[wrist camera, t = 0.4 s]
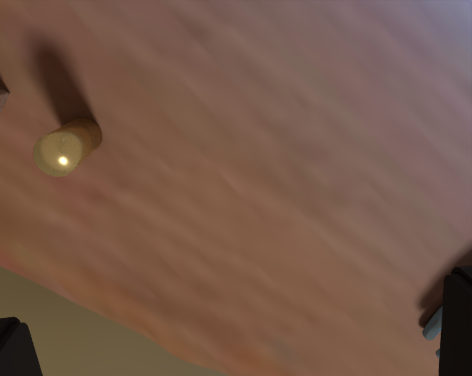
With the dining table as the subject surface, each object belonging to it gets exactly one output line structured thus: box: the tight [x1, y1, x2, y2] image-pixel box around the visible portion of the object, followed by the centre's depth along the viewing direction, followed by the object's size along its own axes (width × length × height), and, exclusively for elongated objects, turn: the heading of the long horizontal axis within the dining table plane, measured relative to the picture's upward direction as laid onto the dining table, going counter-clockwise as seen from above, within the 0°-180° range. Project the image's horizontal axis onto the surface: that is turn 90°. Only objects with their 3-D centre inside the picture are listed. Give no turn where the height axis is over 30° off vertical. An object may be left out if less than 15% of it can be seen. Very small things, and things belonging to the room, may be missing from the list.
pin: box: [33, 118, 102, 176], centre depth 37 cm, size 3×3×8 cm
